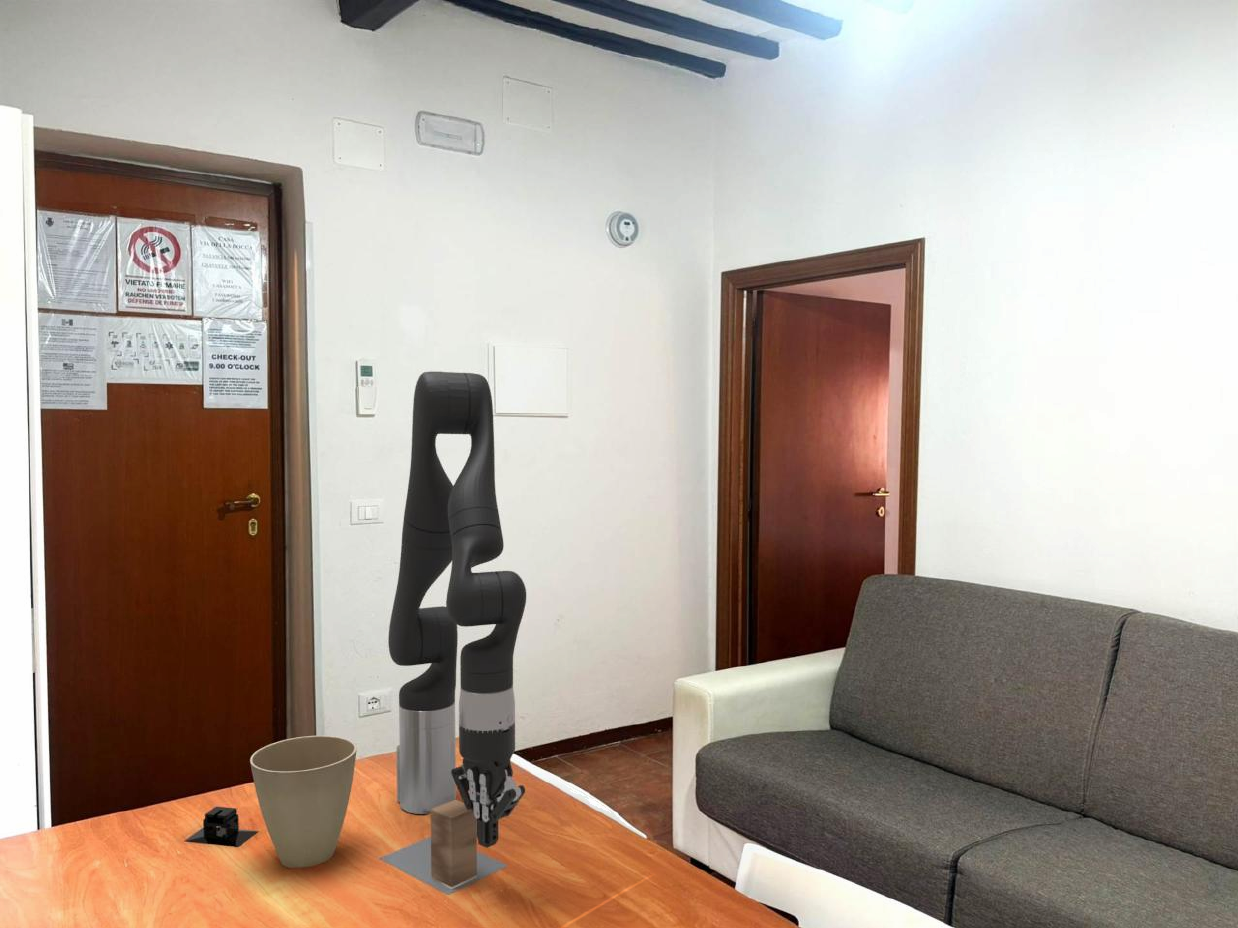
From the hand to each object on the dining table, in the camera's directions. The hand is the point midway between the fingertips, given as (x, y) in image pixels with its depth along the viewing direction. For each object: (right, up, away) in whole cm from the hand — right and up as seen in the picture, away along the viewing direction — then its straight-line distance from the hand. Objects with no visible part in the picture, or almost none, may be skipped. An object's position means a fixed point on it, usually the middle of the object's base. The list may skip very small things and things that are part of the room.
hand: (487, 844), depth 129 cm
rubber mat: (-8, -7, +10) cm, 14 cm away
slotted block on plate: (-44, -7, +19) cm, 49 cm away
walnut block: (-5, -7, +5) cm, 10 cm away
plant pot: (-29, -7, +12) cm, 32 cm away
